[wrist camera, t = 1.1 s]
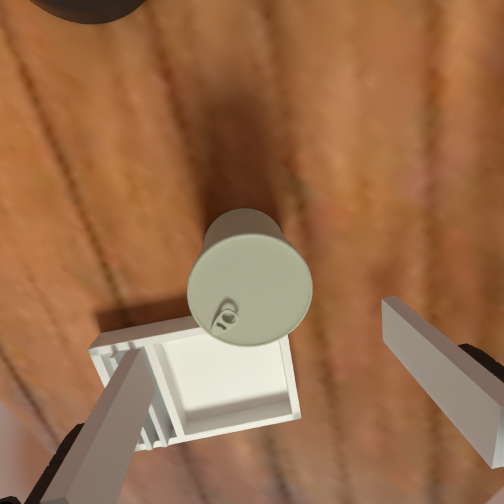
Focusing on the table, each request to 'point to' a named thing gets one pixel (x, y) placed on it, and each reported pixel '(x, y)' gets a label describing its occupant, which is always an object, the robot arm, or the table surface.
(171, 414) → the rack
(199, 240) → the table surface
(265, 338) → the can
